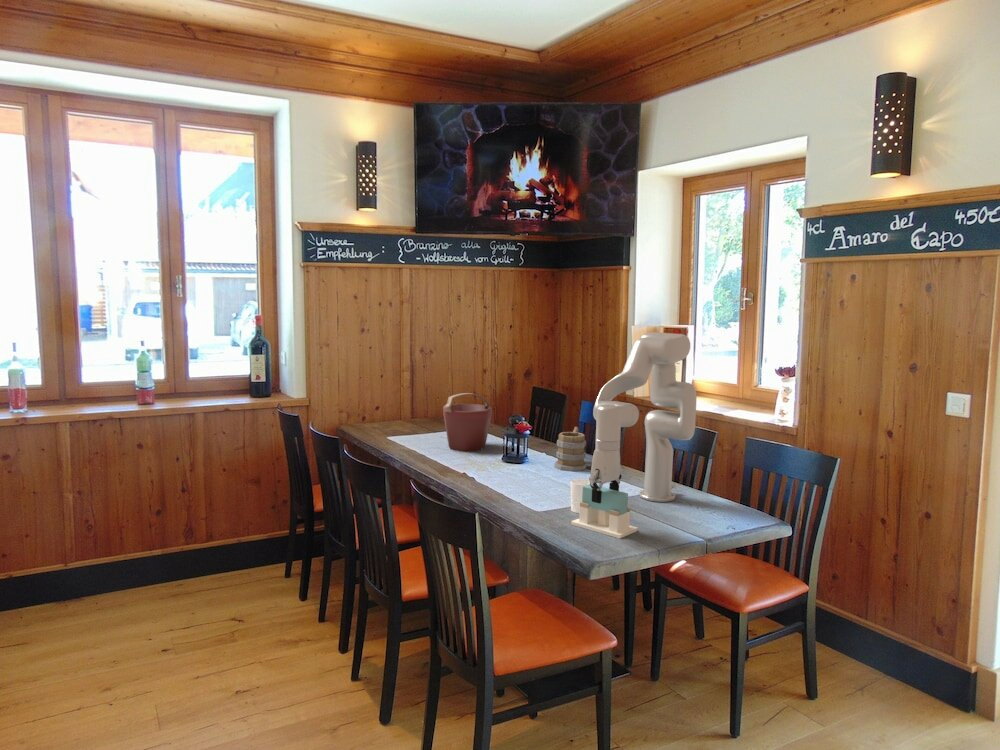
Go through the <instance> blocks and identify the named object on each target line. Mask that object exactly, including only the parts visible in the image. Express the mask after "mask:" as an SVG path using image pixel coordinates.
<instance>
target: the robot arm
mask: <svg viewBox="0 0 1000 750" xmlns="http://www.w3.org/2000/svg"><path fill="white" fill-rule="evenodd" d="M690 350H691V341H690V338H689V337H688V336H687V335H686V334H683V333H671V332H658V331H657V332H656V331H655V332H649V331H648V332H645V333H642V334H641V336H640V337H639V338H638V339H636V340H635V341H634V343H633V344H632V347H631V350H630V352H629V354H628V357H627V359H626V362H625V364H624V367H623V369H622V372H620V373H618V374H617V375H616V376H614V377H613V378H611V379H610V380H608V381H607V382H606V383H605V384H604V385H603V386H602V388H601V389H600V390H599V392H598V396H597V397H596V400H595V403H594V406H593V410H592V411H593V412H592V417H593V419H594V420H595V421H596V422H595V423H596V424H595V427H596V429H595V442H594V443H595V446H594V448H595V449H594V451H593V453H592V454H593V455H592V460H591V468H590V476H589V477H588V480H589V482H590V486H591V489H592V502H595V503H599V504H600V503H601V496H602V491H601V487H603V485H604V484H608V483H609V488H608V489H612V490H616V491H620V484H621V478H622V474H623V470H624V469H623V467H621V453H620V452H621V451H620V450H621V433H622V432H621V431H622V430H621V429H622V428H629V427H633V426H634V425H635V424H636V423H637V422H638V420H639V417H640V410H639V409H638V407H637V406H636V405H635V404H633V403H630V402H623V401H617V400H613V399H614V398H616V397H617V396H618V395H620V394H622V393H625V392H629V391H631V390H635V389H637V388H641V387H643V386H644V385H646V384H647V382H648V380H649V376H650V385H649V386H650V388H649V389H650V391H649V394H650V395H649V396H650V397H649V399H650V402H651V403H652V405H654V406H657V407H660V408H661V407H662V408H667V409H675V410H676V409H677V410H678V411H671V410H664V409H663V410H662V409H654V410H651V411H649V412H647V414H646V415H645V417H644V430H645V431H644V432H645V439H646V441H645V443H646V444H645V446H646V447H645V465H644V485H643V489H642V490H640V491H639V495H638V496H639V497H640V498H642V499H643V500H646V501H650V502H659V503H665V502H667V503H668V502H672V501H675V499H676V494H675V493H673V492H672V490H673V489H674V488H676V484H675V482H672V479H673V463H674V462H673V461H674V449H673V445H672V443H671V441H670V440H671V439H672V440H676V441H677V440H679V441H689V440H691V439H692V438H693V437H694V435H695V431H696V430H695V429H696V418H697V416H696V415H697V396H698V395H697V391H696V390H697V389H696V388H695V386H694V385H693V384H692V383H691V382H690V383H689V382H684V381H679V380H678V381H677V380H676V377H677V375H676V373H677V372H676V371H677V368H676V363H678V362H681V361H683V360H685V359H686V357H688V355H689V353H690Z"/></svg>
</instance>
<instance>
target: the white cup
mask: <svg viewBox="0 0 1000 750" xmlns="http://www.w3.org/2000/svg"><path fill="white" fill-rule="evenodd" d="M589 484H590V482H589V478H588V479H587V478H574V479H571V480H570V486H569V487H570V511H571V512H573V513H575V514H579V513H580V502H582V494H583V486H586V485H589Z"/></svg>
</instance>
